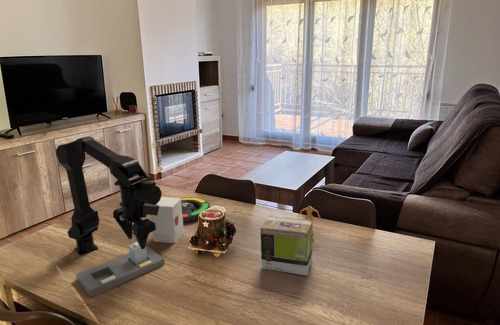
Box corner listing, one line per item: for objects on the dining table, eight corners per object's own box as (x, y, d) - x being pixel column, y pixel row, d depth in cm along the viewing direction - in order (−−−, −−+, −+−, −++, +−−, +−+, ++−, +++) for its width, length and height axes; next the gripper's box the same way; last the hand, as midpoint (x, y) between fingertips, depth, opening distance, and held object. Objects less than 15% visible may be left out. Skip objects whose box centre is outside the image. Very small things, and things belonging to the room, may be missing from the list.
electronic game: (201, 200, 174) (201, 190, 173) (217, 218, 154) (216, 207, 153) (154, 208, 165) (152, 199, 164) (163, 229, 145) (162, 218, 144)
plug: (131, 264, 119) (128, 243, 117) (142, 259, 122) (139, 239, 120) (136, 269, 116) (133, 248, 114) (147, 264, 119) (145, 243, 117)
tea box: (312, 260, 120) (313, 219, 116) (307, 277, 111) (308, 233, 106) (269, 253, 125) (268, 214, 120) (260, 269, 115) (259, 227, 111)
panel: (77, 280, 112) (75, 272, 111) (147, 252, 127) (146, 245, 127) (90, 298, 103) (89, 290, 103) (164, 265, 119) (164, 258, 118)
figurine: (296, 239, 134) (296, 209, 130) (298, 231, 139) (299, 203, 136) (319, 241, 132) (320, 211, 128) (320, 233, 137) (321, 204, 134)
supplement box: (175, 244, 132) (172, 207, 128) (153, 242, 134) (148, 205, 130) (184, 233, 141) (181, 197, 136) (163, 231, 142) (159, 196, 138)
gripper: (169, 200, 111) (173, 245, 116) (141, 185, 124) (146, 226, 129) (135, 210, 104) (141, 258, 108) (109, 194, 117) (115, 237, 122)
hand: (136, 243), depth 117 cm, fingers open, 9 cm apart
